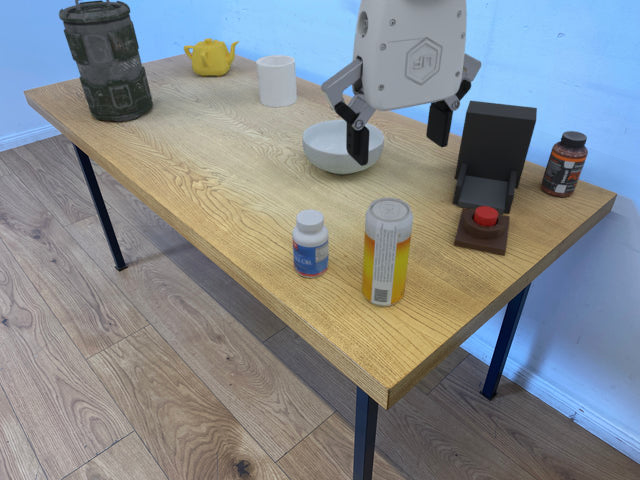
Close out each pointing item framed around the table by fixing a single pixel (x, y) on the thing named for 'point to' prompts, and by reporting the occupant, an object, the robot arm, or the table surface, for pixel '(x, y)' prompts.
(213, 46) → the teapot
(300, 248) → the pill bottle
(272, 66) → the mug
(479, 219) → the button
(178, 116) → the table surface
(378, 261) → the beer can
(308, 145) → the cereal bowl
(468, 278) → the table surface
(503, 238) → the button block
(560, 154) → the supplement bottle
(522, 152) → the dark grey cradle
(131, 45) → the canister
